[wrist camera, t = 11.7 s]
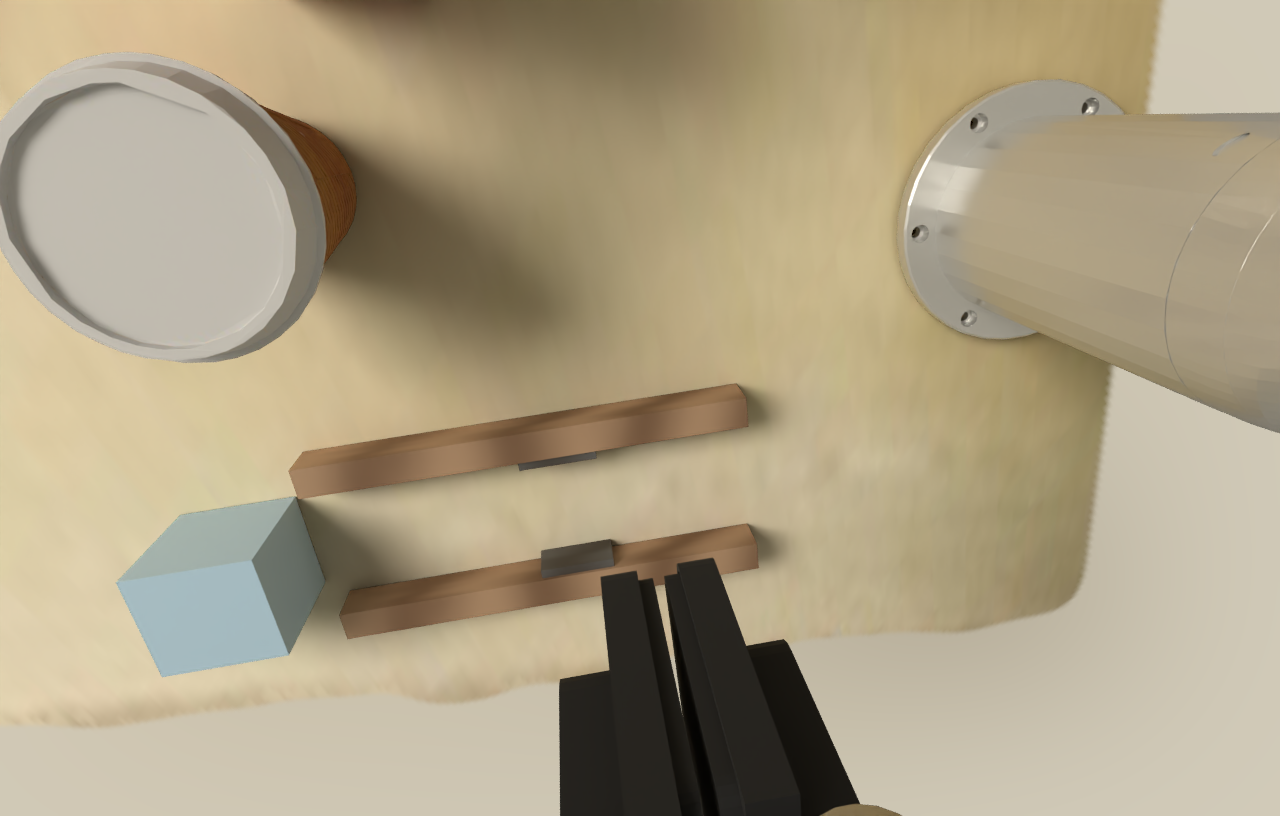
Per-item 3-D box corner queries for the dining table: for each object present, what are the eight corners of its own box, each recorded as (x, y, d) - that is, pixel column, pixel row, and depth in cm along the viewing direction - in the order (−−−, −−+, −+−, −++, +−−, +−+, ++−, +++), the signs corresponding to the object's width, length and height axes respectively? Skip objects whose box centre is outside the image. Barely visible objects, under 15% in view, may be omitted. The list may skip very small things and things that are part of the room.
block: (295, 496, 38) (251, 560, 33) (325, 581, 40) (288, 655, 35) (180, 514, 38) (115, 582, 32) (216, 599, 40) (162, 677, 34)
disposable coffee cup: (437, 200, 33) (379, 239, 22) (297, 332, 35) (179, 430, 24) (269, 23, 30) (103, -34, 19) (123, 178, 32) (-108, 208, 21)
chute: (736, 383, 39) (746, 398, 36) (748, 546, 42) (758, 567, 40) (302, 452, 37) (288, 471, 35) (357, 613, 41) (347, 639, 39)
